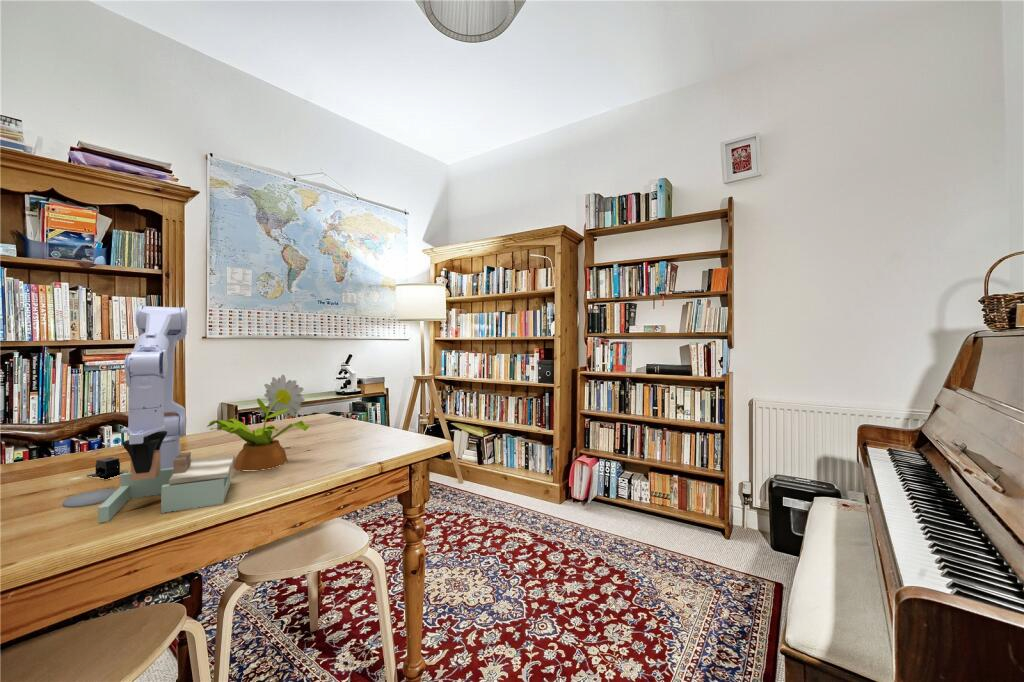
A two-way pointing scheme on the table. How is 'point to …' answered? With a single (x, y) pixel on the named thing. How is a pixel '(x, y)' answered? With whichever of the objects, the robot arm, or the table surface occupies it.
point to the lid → (199, 468)
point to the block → (153, 471)
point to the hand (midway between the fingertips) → (146, 469)
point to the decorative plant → (259, 443)
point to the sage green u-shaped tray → (166, 493)
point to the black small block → (107, 468)
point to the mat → (88, 498)
